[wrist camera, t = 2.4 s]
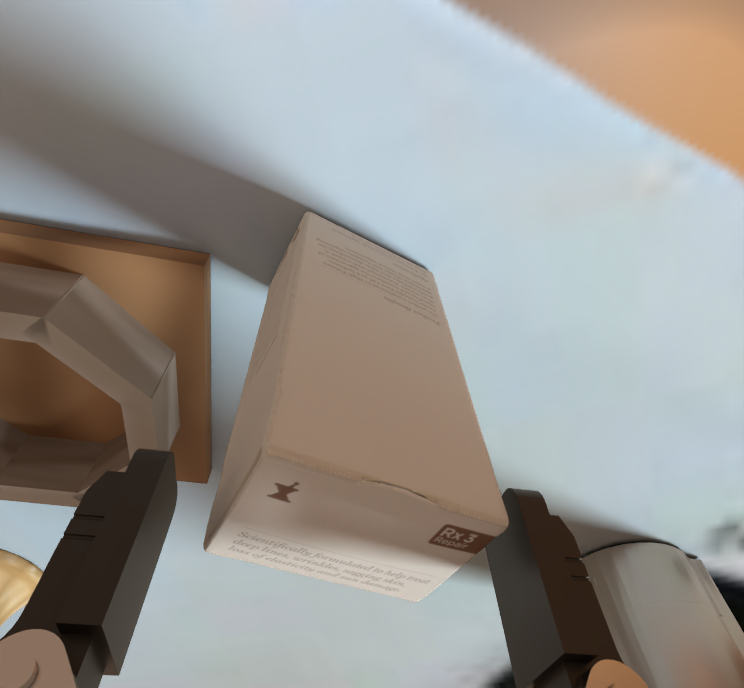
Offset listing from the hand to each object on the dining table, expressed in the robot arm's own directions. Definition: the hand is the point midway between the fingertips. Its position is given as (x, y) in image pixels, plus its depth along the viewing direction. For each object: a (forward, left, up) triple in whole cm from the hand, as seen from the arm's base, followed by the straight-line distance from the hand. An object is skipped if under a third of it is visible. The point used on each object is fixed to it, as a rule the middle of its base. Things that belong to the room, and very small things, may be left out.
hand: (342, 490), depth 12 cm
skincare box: (0, 0, -11) cm, 11 cm away
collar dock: (+13, +7, -11) cm, 18 cm away
